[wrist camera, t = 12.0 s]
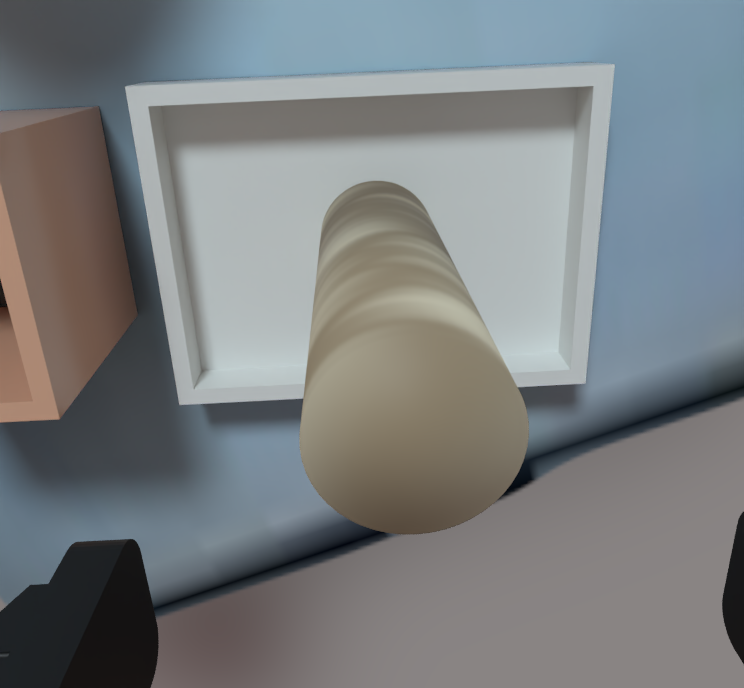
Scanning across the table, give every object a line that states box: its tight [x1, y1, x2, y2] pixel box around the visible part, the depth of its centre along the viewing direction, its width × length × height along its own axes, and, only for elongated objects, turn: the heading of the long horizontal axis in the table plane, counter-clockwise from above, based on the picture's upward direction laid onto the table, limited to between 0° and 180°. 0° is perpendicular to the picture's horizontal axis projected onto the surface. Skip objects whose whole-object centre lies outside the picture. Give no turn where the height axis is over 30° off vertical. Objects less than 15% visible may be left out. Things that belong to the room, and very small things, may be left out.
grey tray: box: [125, 62, 615, 405], centre depth 25 cm, size 15×11×2 cm
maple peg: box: [300, 181, 529, 534], centre depth 19 cm, size 4×4×14 cm
